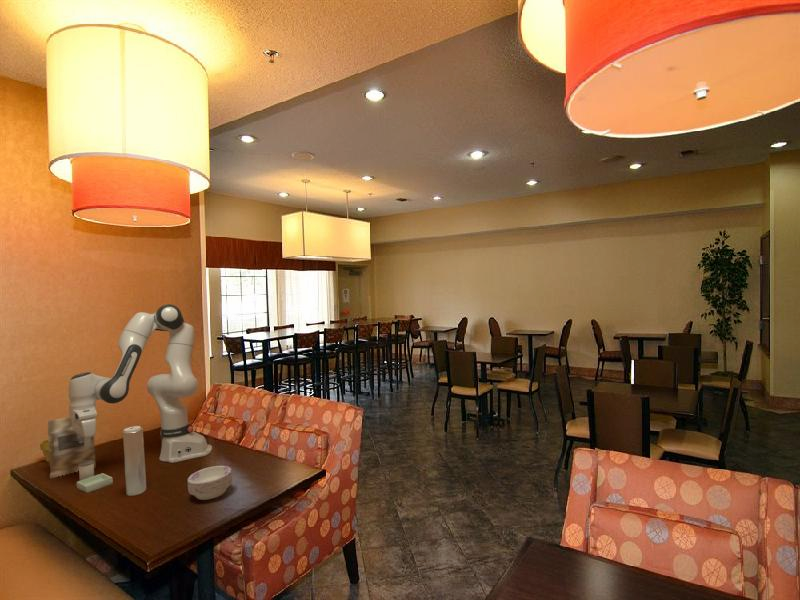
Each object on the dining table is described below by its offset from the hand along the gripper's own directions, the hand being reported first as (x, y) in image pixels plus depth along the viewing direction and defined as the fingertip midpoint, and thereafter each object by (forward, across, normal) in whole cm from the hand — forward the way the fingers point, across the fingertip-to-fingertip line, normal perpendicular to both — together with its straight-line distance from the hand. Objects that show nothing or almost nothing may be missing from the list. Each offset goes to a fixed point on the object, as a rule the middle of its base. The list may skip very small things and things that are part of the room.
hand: (83, 444), depth 176 cm
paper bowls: (+15, +60, +25) cm, 67 cm away
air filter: (+15, +33, +9) cm, 37 cm away
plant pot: (+15, -42, -2) cm, 44 cm away
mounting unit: (+15, -18, 0) cm, 23 cm away
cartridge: (+15, 0, +1) cm, 15 cm away
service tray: (+15, +12, +1) cm, 19 cm away
